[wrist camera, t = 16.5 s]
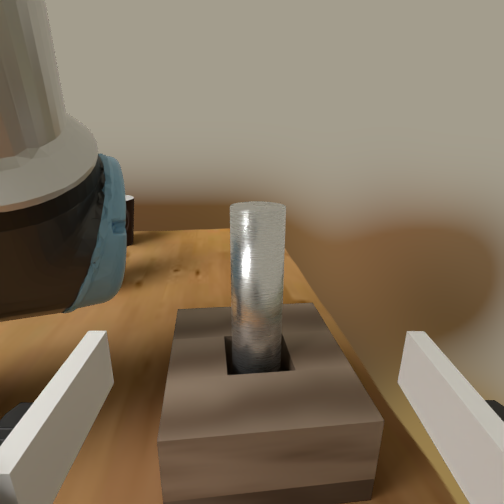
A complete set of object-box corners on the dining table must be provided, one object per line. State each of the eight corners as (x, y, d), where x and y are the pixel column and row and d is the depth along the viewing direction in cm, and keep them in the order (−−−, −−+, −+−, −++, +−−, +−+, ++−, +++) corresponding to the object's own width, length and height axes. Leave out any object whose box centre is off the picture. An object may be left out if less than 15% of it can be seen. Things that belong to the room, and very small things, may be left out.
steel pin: (223, 399, 31) (218, 205, 25) (257, 379, 33) (259, 199, 28) (253, 426, 28) (255, 214, 22) (288, 402, 30) (297, 206, 25)
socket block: (181, 367, 38) (177, 309, 35) (308, 358, 39) (312, 302, 37) (165, 524, 23) (157, 441, 20) (370, 499, 24) (384, 420, 22)
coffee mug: (99, 239, 81) (93, 195, 77) (138, 236, 83) (134, 194, 80) (92, 255, 70) (85, 206, 67) (137, 252, 72) (132, 204, 69)
